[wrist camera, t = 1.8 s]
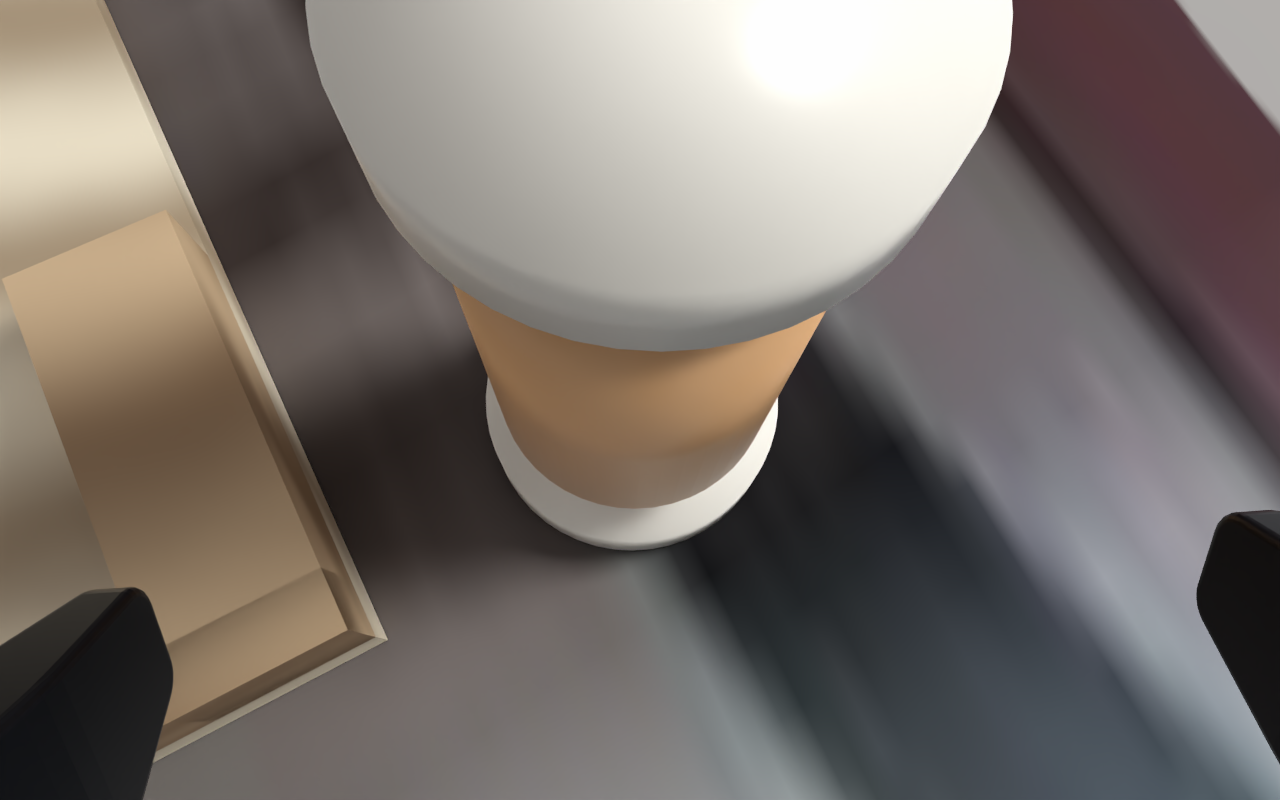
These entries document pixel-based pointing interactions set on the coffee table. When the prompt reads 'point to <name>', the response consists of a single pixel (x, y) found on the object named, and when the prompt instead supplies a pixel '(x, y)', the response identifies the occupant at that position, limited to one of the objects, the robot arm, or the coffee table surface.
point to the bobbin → (653, 210)
